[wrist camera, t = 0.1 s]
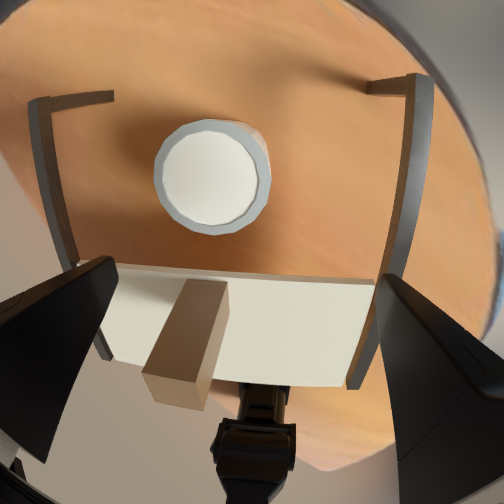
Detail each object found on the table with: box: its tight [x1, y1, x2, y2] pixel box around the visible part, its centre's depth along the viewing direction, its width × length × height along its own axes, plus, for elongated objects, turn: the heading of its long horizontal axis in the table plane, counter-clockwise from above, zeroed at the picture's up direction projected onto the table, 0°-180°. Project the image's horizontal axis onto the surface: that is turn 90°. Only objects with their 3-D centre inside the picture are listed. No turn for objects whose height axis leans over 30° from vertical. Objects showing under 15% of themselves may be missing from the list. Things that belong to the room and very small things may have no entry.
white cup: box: [153, 119, 272, 236], centre depth 19 cm, size 7×7×7 cm
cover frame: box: [28, 73, 434, 390], centre depth 20 cm, size 22×22×9 cm
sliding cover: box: [77, 260, 375, 411], centre depth 16 cm, size 10×19×8 cm, turn 90°
